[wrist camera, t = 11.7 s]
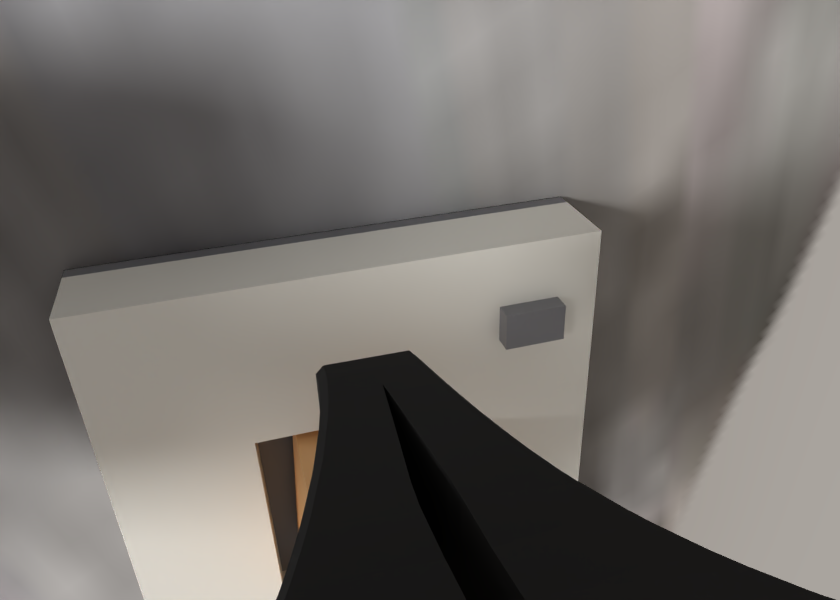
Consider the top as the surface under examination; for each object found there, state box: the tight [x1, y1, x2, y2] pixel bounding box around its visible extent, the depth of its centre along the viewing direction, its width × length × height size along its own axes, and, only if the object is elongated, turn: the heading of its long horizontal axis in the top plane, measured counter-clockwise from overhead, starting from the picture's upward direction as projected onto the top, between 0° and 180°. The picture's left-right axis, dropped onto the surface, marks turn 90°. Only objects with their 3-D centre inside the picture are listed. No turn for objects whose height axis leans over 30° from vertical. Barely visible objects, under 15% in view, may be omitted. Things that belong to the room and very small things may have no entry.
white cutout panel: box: [49, 197, 602, 600], centre depth 22 cm, size 13×16×3 cm
